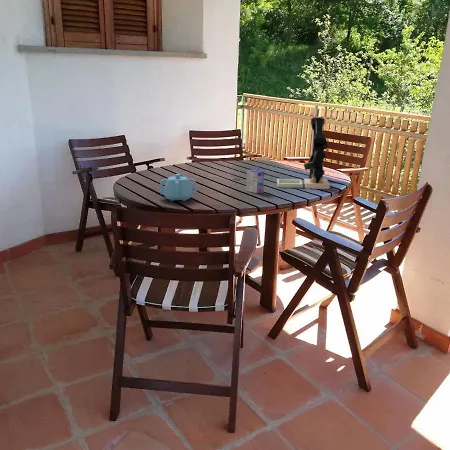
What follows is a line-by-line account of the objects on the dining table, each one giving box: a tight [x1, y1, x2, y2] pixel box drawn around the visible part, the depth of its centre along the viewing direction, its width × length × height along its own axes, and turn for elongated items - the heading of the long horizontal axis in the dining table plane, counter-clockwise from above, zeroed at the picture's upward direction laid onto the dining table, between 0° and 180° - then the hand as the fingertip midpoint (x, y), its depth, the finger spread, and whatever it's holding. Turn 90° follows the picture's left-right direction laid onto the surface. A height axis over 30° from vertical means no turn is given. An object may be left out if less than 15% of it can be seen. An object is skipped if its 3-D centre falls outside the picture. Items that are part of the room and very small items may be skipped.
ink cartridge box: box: [245, 165, 265, 194], centre depth 259 cm, size 10×6×14 cm, turn 38°
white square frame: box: [303, 178, 331, 190], centre depth 276 cm, size 14×14×3 cm
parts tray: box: [276, 178, 304, 189], centre depth 277 cm, size 14×15×2 cm
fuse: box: [311, 174, 324, 183], centre depth 275 cm, size 4×6×7 cm
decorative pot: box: [159, 173, 198, 202], centre depth 242 cm, size 16×16×14 cm
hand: (316, 183), depth 276 cm, fingers closed on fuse, 4 cm apart
